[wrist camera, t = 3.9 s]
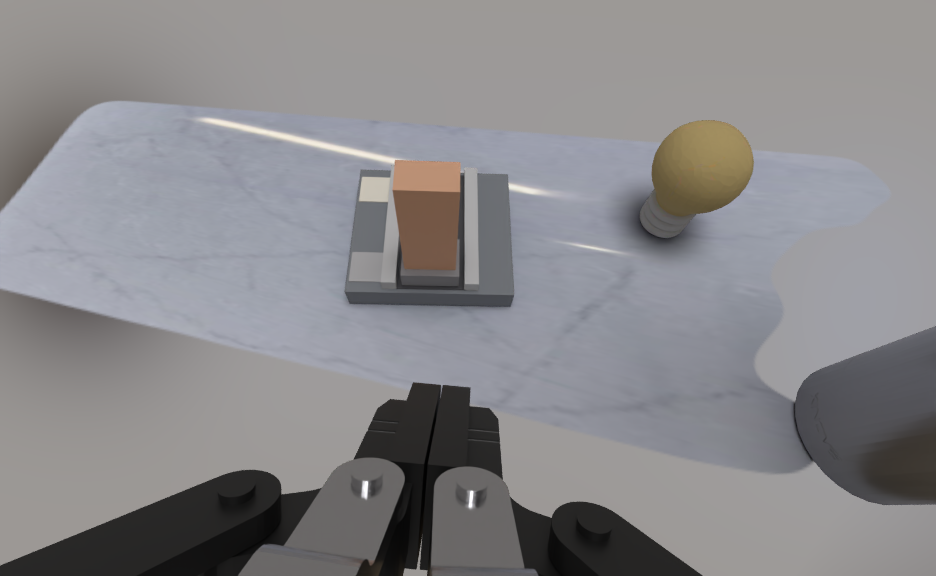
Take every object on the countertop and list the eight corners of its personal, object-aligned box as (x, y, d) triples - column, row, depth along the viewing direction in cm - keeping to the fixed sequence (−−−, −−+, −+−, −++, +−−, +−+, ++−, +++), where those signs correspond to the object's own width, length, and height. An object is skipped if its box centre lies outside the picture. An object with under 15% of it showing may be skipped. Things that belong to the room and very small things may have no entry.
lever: (458, 250, 34) (465, 155, 25) (458, 286, 32) (464, 199, 23) (404, 248, 33) (391, 153, 24) (402, 285, 32) (386, 197, 23)
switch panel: (504, 189, 39) (509, 166, 36) (510, 306, 34) (516, 289, 32) (364, 185, 39) (358, 161, 36) (349, 303, 34) (341, 285, 31)
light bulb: (614, 193, 40) (664, 100, 31) (684, 192, 40) (754, 100, 31) (630, 256, 37) (690, 174, 28) (705, 254, 37) (789, 173, 28)
